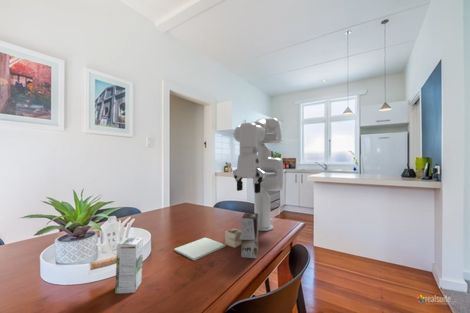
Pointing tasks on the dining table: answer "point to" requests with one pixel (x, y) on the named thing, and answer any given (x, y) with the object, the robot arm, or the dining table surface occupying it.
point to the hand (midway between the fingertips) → (248, 191)
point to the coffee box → (249, 235)
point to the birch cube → (233, 237)
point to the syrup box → (129, 265)
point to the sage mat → (199, 248)
